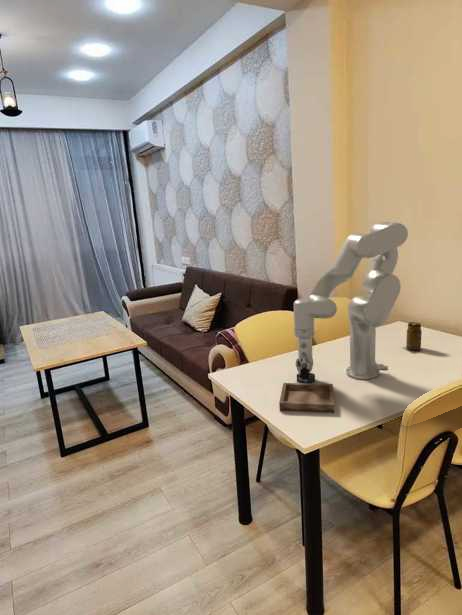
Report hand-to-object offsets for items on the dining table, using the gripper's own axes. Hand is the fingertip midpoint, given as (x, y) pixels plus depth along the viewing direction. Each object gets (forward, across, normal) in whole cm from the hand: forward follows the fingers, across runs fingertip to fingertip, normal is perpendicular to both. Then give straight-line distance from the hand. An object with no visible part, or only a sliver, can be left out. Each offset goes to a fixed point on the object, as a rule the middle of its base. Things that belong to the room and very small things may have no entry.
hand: (305, 373), depth 159 cm
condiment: (+3, +37, -47) cm, 60 cm away
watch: (+4, 0, 0) cm, 4 cm away
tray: (+4, -16, -1) cm, 16 cm away
